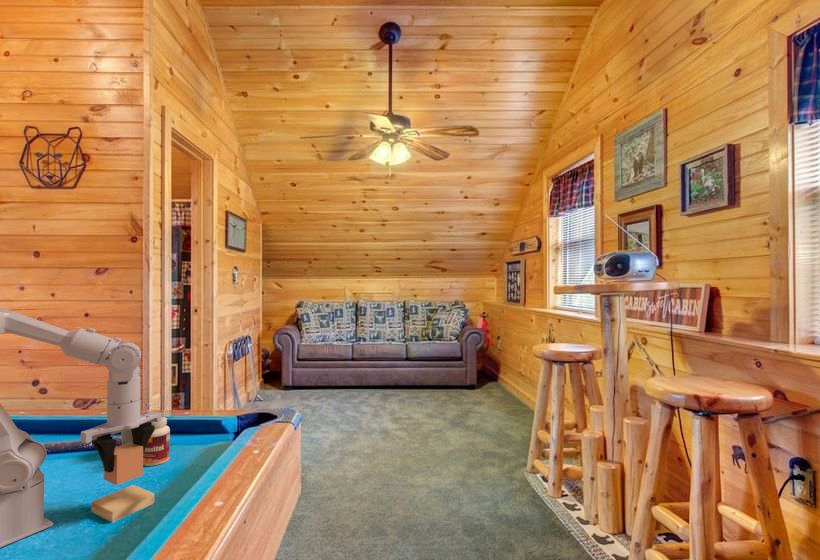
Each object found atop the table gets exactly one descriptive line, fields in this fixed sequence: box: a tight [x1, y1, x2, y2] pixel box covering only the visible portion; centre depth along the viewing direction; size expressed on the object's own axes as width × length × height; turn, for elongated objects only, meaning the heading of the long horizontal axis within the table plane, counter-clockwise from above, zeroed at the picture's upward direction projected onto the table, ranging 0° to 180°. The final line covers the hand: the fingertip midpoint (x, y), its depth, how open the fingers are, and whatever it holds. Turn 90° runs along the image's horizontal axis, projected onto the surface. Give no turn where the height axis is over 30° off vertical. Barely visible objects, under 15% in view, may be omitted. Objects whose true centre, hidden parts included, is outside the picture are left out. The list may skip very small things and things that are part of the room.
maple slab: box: [91, 484, 155, 523], centre depth 85 cm, size 8×8×2 cm
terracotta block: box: [103, 442, 144, 486], centre depth 85 cm, size 5×5×6 cm
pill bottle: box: [143, 416, 171, 467], centre depth 107 cm, size 6×6×11 cm
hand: (123, 465), depth 85 cm, fingers closed on terracotta block, 5 cm apart
